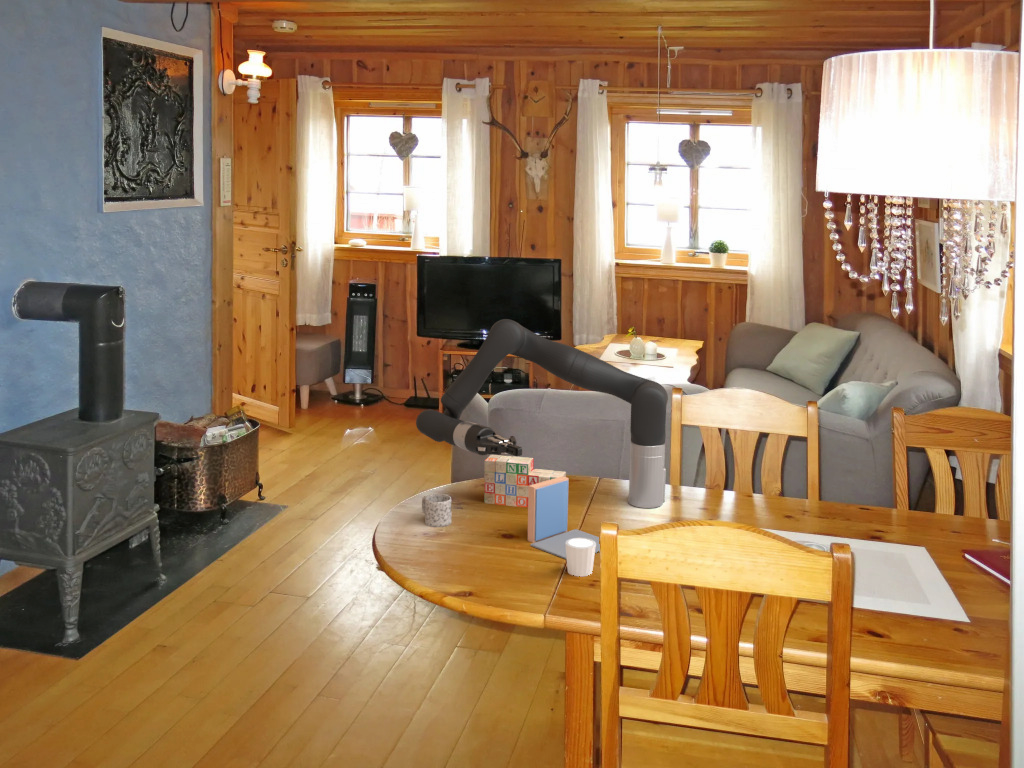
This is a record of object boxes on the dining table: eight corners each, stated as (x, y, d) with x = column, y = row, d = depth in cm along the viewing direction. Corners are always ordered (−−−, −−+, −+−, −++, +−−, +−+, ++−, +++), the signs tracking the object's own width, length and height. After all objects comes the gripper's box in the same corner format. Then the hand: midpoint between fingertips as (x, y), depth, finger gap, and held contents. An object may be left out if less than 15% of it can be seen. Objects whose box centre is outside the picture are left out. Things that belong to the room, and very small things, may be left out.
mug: (456, 523, 264) (456, 498, 262) (435, 529, 259) (435, 503, 258) (433, 513, 271) (433, 489, 270) (412, 518, 267) (412, 494, 265)
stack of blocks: (565, 504, 280) (566, 460, 277) (560, 511, 274) (561, 467, 272) (490, 496, 286) (490, 453, 283) (483, 503, 280) (483, 459, 277)
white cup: (593, 566, 237) (594, 537, 235) (596, 577, 230) (597, 548, 229) (563, 566, 237) (564, 537, 235) (566, 577, 230) (566, 548, 228)
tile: (561, 529, 260) (562, 476, 258) (568, 531, 259) (569, 478, 256) (527, 540, 252) (528, 485, 249) (534, 543, 251) (535, 488, 248)
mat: (575, 530, 260) (575, 528, 260) (618, 545, 250) (618, 543, 250) (530, 545, 249) (530, 544, 249) (572, 562, 239) (572, 560, 239)
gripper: (455, 428, 266) (501, 442, 253) (493, 420, 275) (539, 433, 262) (454, 456, 267) (500, 471, 255) (492, 447, 276) (538, 461, 264)
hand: (520, 452), depth 259 cm, fingers closed
